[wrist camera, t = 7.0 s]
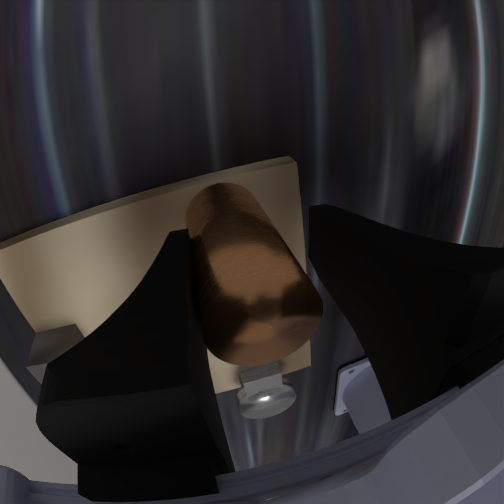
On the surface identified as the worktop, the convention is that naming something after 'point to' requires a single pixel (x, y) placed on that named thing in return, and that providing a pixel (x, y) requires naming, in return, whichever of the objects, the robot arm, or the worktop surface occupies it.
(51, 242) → the beige square panel
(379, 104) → the worktop surface
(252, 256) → the lever
